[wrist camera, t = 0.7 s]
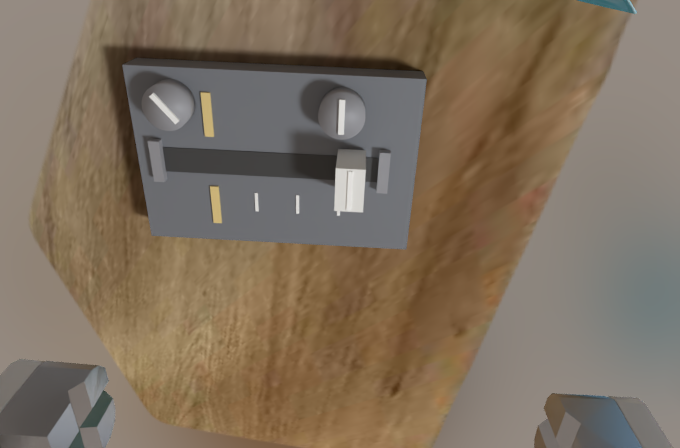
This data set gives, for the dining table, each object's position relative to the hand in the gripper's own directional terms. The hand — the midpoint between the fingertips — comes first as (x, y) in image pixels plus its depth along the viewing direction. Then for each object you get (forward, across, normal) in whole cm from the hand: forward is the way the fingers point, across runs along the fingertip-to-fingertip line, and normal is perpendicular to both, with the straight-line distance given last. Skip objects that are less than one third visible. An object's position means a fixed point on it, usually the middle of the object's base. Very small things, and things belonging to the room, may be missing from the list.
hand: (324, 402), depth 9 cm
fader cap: (+37, 0, +10) cm, 38 cm away
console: (+40, +7, +10) cm, 42 cm away
